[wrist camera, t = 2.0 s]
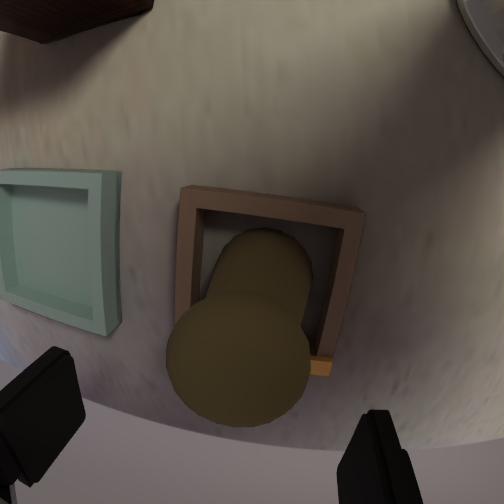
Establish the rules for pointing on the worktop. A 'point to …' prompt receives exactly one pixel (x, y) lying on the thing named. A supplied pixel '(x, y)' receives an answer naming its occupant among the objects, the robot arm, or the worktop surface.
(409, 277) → the worktop surface
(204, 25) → the worktop surface
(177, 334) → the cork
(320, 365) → the holder frame
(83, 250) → the tray
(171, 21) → the worktop surface
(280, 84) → the worktop surface
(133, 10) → the brown coffee grinder
